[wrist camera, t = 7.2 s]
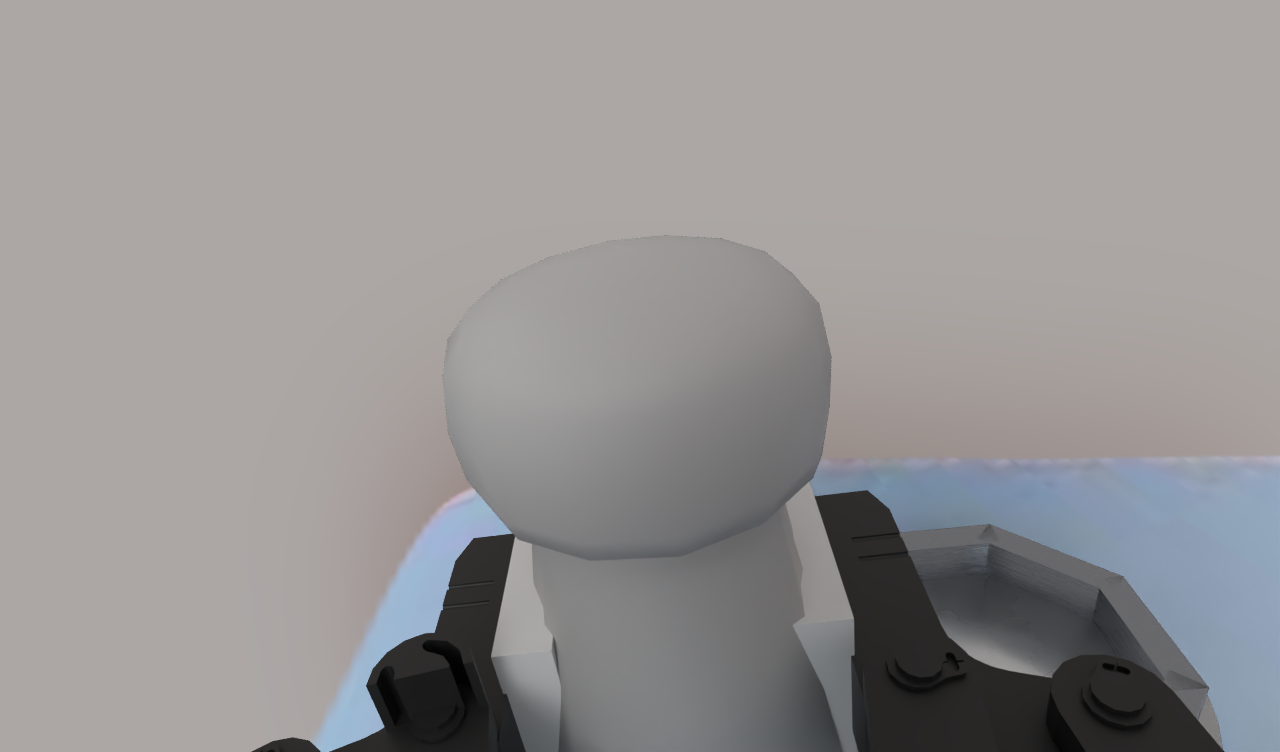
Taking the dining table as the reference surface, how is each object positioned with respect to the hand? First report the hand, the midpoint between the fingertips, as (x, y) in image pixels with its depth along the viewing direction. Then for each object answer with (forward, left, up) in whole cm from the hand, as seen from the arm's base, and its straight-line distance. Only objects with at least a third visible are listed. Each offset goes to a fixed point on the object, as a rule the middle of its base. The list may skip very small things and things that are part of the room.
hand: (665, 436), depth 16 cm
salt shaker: (0, +5, -8) cm, 9 cm away
